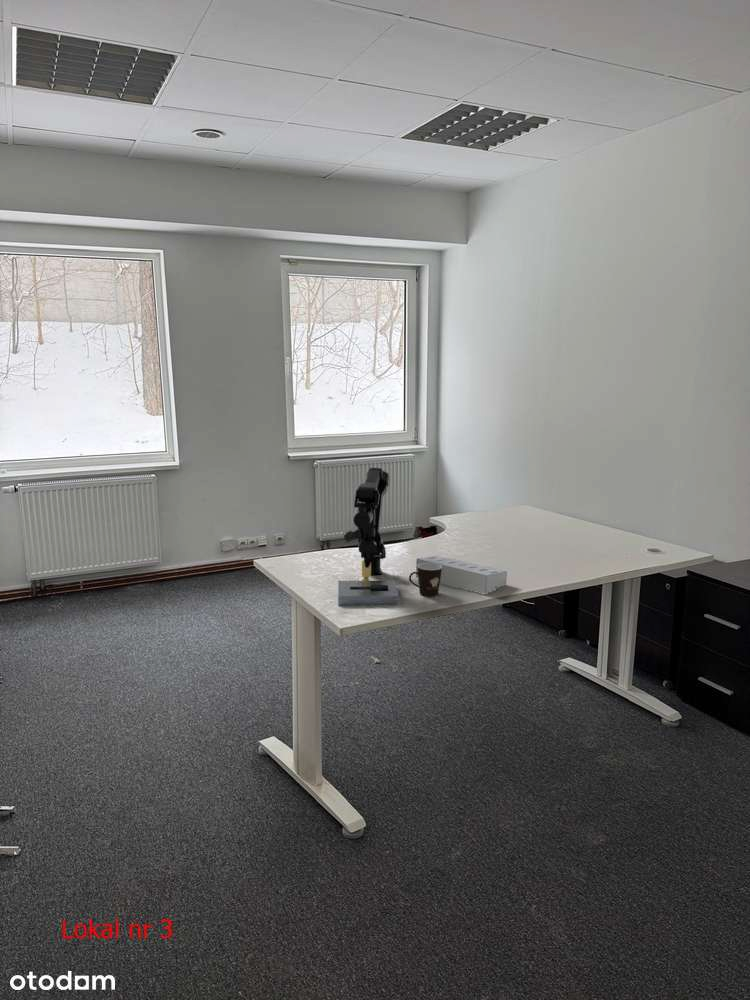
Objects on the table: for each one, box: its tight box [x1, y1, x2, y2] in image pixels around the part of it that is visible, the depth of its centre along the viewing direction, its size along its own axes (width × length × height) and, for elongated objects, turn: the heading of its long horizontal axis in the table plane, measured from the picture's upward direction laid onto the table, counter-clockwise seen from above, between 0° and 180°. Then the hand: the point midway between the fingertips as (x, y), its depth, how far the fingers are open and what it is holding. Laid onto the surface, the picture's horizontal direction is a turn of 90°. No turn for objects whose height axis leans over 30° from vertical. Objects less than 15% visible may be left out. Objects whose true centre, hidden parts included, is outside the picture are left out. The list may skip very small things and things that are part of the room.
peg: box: [361, 558, 372, 581], centre depth 251 cm, size 4×4×10 cm
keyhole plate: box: [337, 580, 400, 606], centre depth 238 cm, size 16×20×3 cm
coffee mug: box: [408, 563, 442, 598], centre depth 242 cm, size 12×9×10 cm
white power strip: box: [415, 555, 508, 594], centre depth 256 cm, size 30×14×8 cm, turn 50°
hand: (366, 563), depth 250 cm, fingers open, 9 cm apart
